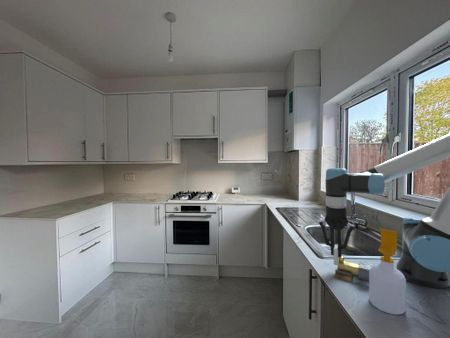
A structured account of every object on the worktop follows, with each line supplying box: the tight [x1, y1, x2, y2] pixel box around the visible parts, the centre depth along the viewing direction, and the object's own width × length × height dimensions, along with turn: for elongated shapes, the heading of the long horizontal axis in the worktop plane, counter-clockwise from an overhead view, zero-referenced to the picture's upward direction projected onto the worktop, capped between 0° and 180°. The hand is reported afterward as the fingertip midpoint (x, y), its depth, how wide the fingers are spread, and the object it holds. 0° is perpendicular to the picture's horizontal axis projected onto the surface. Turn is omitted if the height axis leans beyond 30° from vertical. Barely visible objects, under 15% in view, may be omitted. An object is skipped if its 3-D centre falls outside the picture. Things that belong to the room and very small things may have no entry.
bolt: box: [337, 255, 359, 275], centre depth 83 cm, size 7×3×5 cm, turn 54°
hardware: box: [334, 260, 377, 282], centre depth 82 cm, size 13×7×5 cm, turn 54°
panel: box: [334, 266, 369, 288], centre depth 82 cm, size 13×9×1 cm
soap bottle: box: [368, 227, 407, 316], centre depth 66 cm, size 9×9×25 cm
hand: (336, 263), depth 86 cm, fingers closed
